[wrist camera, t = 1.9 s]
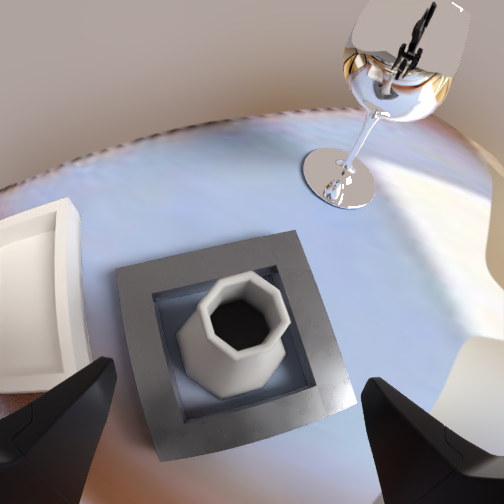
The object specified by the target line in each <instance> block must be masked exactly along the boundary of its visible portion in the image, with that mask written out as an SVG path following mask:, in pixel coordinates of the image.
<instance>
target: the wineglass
mask: <svg viewBox="0 0 504 504" xmlns="http://www.w3.org/2000/svg"><path fill="white" fill-rule="evenodd" d="M470 19H471V14H470V13H468V12H467V11H465V10H464V9H463V8H461V7H460V6H458V5H456V4H455V3H453V2H451V1H450V0H370V1H369V3H368V4H367V6H366V7H365V9H364V10H363V12H362V14H361V15H360V17H359V18H358V20H357V22H356V23H355V25H354V27H353V29H352V31H351V34H350V36H349V38H348V40H347V42H346V45H345V49H344V53H343V73H344V75H345V79H346V82H347V85H348V87H349V89H350V90H351V92H352V93H353V95H354V96H355V98H356V100H357V101H358V102H359V103H360V104H361V105H362V106H363V107H364V108H365V109H366V110H367V115H366V118H365V121H364V124H363V126H362V129H361V131H360V133H359V135H358V137H357V139H356V141H355V142H354V144H353V146H352V148H351V150H350V152H349V153H348V152H346V151H343V150H340V149H336V148H320V149H317V150H315V151H313V152H311V153H310V154H309V155H308V156H307V157H306V159H305V161H304V165H303V172H304V176H305V179H306V181H307V183H308V185H309V186H310V187H311V189H312V190H313V191H314V192H315V193H316V194H317V195H318V196H319V197H320V198H322V199H323V200H325V201H326V202H328V203H330V204H332V205H334V206H337V207H340V208H345V209H358V208H362V207H364V206H366V205H368V204H369V203H370V202H371V201H372V199H373V197H374V195H375V181H374V178H373V176H372V174H371V172H370V171H369V169H368V168H367V167H366V166H365V164H364V163H363V162H361V161H360V160H359V159H358V158H356V156H357V154H358V152H359V150H360V148H361V147H362V145H363V143H364V141H365V139H366V137H367V136H368V134H369V132H370V131H371V129H372V128H373V126H374V125H375V124H376V122H377V121H378V120H379V119H380V118H382V119H385V120H388V121H393V122H412V121H416V120H420V119H423V118H425V117H427V116H428V115H430V114H431V113H433V112H434V111H436V110H437V108H438V107H439V106H440V105H441V104H442V102H443V101H444V99H445V97H446V96H447V94H448V92H449V90H450V88H451V86H452V84H453V81H454V79H455V76H456V74H457V71H458V67H459V64H460V61H461V58H462V54H463V50H464V47H465V43H466V39H467V34H468V29H469V24H470Z"/></svg>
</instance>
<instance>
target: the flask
mask: <svg viewBox="0 0 504 504" xmlns="http://www.w3.org/2000/svg"><path fill="white" fill-rule="evenodd" d="M290 323H291V321H290V318H289V315H288V313H287V310H286V307H285V304H284V301H283V298H282V296H281V293H280V290H279V289H277V288H276V287H274V286H273V285H272V284H270V283H269V282H267V281H266V280H265V279H263V278H262V277H260V276H259V275H257V274H256V273H255V272H253V271H252V270H251V271H247V272H243V273H239V274H235V275H231V276H227V277H223V278H219V279H218V280H217V281H216V283H215V284H214V285H213V286H212V287H211V289H210V290H209V291H208V292H207V293H206V295H205V296H204V297H203V298H202V299H201V301H200V302H199V303H198V304H197V308H196V309H195V311H194V312H193V313H192V314H191V316H190V317H189V318H188V319H187V320H186V322H185V323H184V324H183V325H182V326H181V328H180V329H179V330H178V331H177V333H176V334H175V335H176V339H177V343H178V347H179V350H180V354H181V358H182V361H183V365H184V368H185V372H186V375H188V376H189V377H190V378H191V379H193V380H194V381H195V382H197V383H198V384H199V385H201V386H202V387H203V388H205V389H206V390H207V391H209V392H210V393H212V394H213V395H214V396H216V397H217V398H219V399H220V400H225V399H228V398H232V397H236V396H239V395H242V394H246V393H249V392H253V391H256V390H259V389H262V388H263V387H264V386H265V385H266V383H267V382H268V380H269V379H270V378H271V376H272V375H273V373H274V372H275V371H276V369H277V368H278V366H279V365H280V364H281V362H282V361H283V359H284V358H285V356H286V355H287V354H286V351H285V348H284V345H283V342H282V339H281V336H282V334H283V333H284V332H285V330H286V329H287V327H288V326H289V324H290Z"/></svg>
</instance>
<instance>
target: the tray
mask: <svg viewBox="0 0 504 504" xmlns="http://www.w3.org/2000/svg"><path fill="white" fill-rule="evenodd" d="M92 362H93V360H92V355H91V349H90V343H89V336H88V329H87V321H86V313H85V304H84V293H83V280H82V261H81V216H80V215H79V213H78V212H77V210H76V209H75V207H74V205H73V204H72V202H71V201H70V199H69V198H68V197H67V198H64V199H61V200H57V201H54V202H51V203H48V204H45V205H42V206H39V207H36V208H33V209H30V210H27V211H24V212H22V213H19V214H16V215H13V216H11V217H8V218H5V219H3V220H0V394H18V393H40V392H47V391H49V390H50V389H52V388H53V387H55V386H56V385H58V384H59V383H61V382H63V381H64V380H66V379H67V378H69V377H70V376H72V375H73V374H75V373H76V372H78V371H79V370H81V369H83V368H84V367H86V366H87V365H89V364H90V363H92Z"/></svg>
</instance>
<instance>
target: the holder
mask: <svg viewBox="0 0 504 504" xmlns="http://www.w3.org/2000/svg"><path fill="white" fill-rule="evenodd" d="M251 270H252V271H253V272H255V273H256V274H257V275H259V276H260V277H265V276H269V275H271V276H272V279H273V282H274V285H275V287H276V288H277V289H279V290H280V293H281V296H282V298H283V301H284V304H285V307H286V310H287V313H288V315H289V318H290V321H291V323H290V324H289V326H288V327H289V330H290V333H291V336H292V339H293V342H294V345H295V348H296V352H297V355H298V358H299V361H300V364H301V367H302V370H303V373H304V376H305V379H306V382H307V386H305V387H302V388H299V389H296V390H293V391H290V392H287V393H284V394H281V395H278V396H275V397H272V398H269V399H266V400H262V401H259V402H256V403H252V404H249V405H245V406H242V407H238V408H234V409H230V410H226V411H222V412H218V413H214V414H210V415H205V416H201V417H196V418H192V419H187V418H186V414H185V411H184V408H183V405H182V401H181V398H180V394H179V391H178V387H177V384H176V380H175V376H174V373H173V369H172V365H171V361H170V357H169V353H168V349H167V344H166V340H165V336H164V331H163V327H162V322H161V317H160V313H159V308H158V303H157V302H158V301H162V300H167V299H171V298H176V297H180V296H185V295H189V294H194V293H198V292H202V291H207V290H210V289H211V287H212V286H213V285H214V284H215V283H216V281H217V280H218V279H219V278H223V277H227V276H231V275H235V274H239V273H243V272H247V271H251ZM116 276H117V284H118V292H119V299H120V306H121V313H122V319H123V325H124V330H125V336H126V341H127V346H128V351H129V356H130V361H131V365H132V370H133V374H134V378H135V382H136V386H137V390H138V394H139V398H140V401H141V405H142V409H143V412H144V416H145V419H146V422H147V425H148V429H149V432H150V435H151V438H152V441H153V444H154V447H155V450H156V453H157V456H158V458H159V461H160V462H163V461H170V460H177V459H183V458H188V457H194V456H199V455H204V454H209V453H213V452H218V451H222V450H226V449H231V448H235V447H238V446H242V445H246V444H249V443H253V442H256V441H260V440H263V439H266V438H270V437H273V436H276V435H279V434H282V433H285V432H288V431H291V430H293V429H296V428H299V427H302V426H304V425H307V424H310V423H312V422H315V421H317V420H320V419H322V418H325V417H327V416H329V415H332V414H334V413H336V412H339V411H341V410H343V409H345V408H348V407H350V406H352V405H354V404H356V403H357V402H356V399H355V396H354V392H353V389H352V386H351V383H350V380H349V377H348V374H347V371H346V367H345V364H344V361H343V358H342V355H341V352H340V349H339V346H338V344H337V341H336V338H335V335H334V332H333V329H332V326H331V323H330V320H329V318H328V315H327V312H326V309H325V306H324V304H323V301H322V298H321V295H320V293H319V290H318V287H317V285H316V282H315V279H314V277H313V274H312V271H311V269H310V266H309V263H308V261H307V258H306V256H305V253H304V251H303V248H302V245H301V243H300V240H299V238H298V235H297V233H296V230H292V231H288V232H283V233H278V234H273V235H268V236H264V237H259V238H254V239H249V240H245V241H240V242H235V243H231V244H226V245H221V246H217V247H212V248H208V249H203V250H198V251H194V252H189V253H185V254H180V255H176V256H171V257H167V258H162V259H158V260H153V261H149V262H144V263H140V264H135V265H131V266H127V267H122V268H118V269H116Z"/></svg>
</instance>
